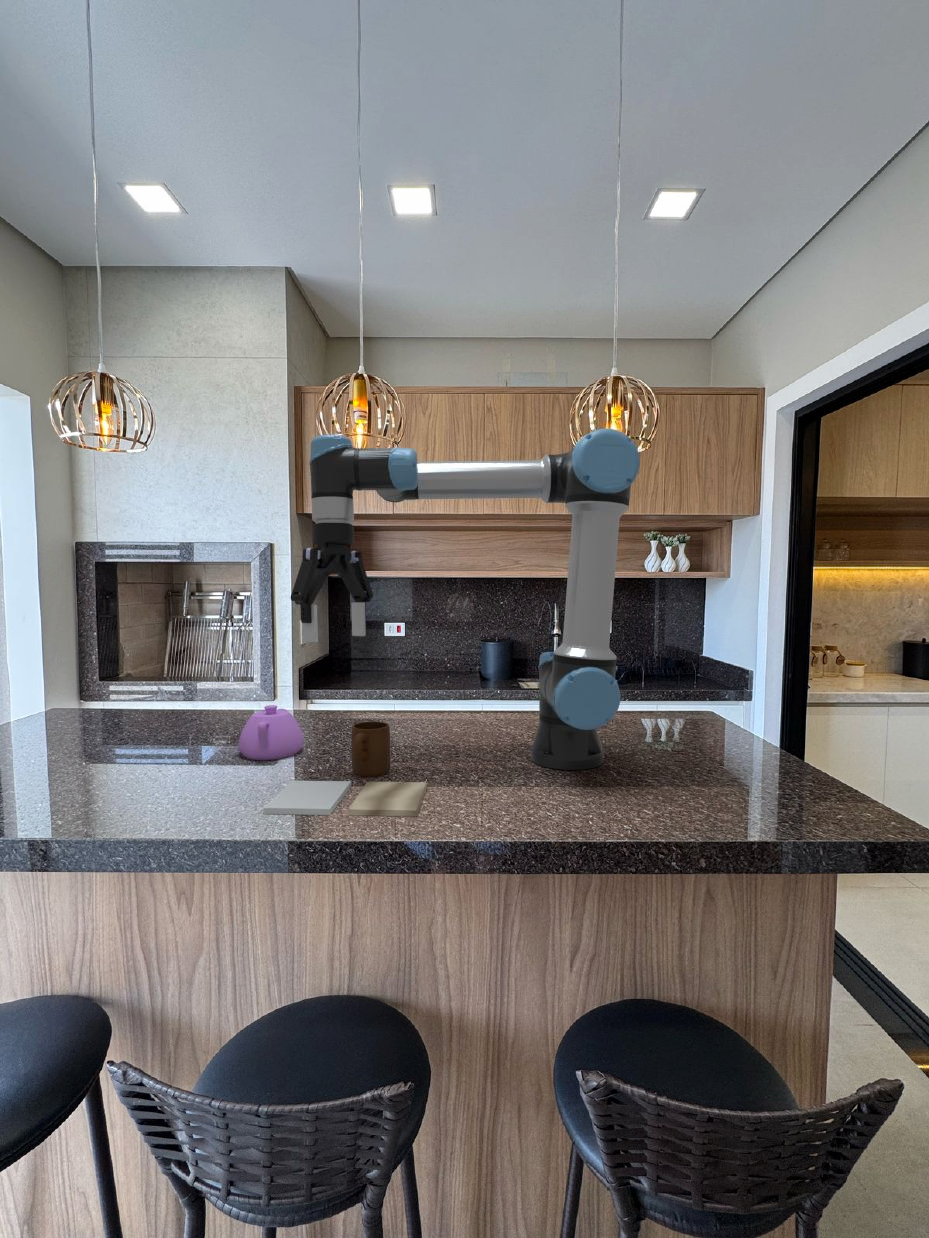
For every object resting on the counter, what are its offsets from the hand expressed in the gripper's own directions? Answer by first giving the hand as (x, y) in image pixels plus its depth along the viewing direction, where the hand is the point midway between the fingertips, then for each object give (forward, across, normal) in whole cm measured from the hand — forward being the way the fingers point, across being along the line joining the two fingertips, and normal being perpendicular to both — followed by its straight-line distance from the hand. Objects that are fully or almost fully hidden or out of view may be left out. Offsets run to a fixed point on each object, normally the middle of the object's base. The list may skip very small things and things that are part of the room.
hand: (336, 638), depth 113 cm
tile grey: (+27, +9, +1) cm, 29 cm away
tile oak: (+27, +3, +14) cm, 31 cm away
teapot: (+27, -11, -28) cm, 40 cm away
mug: (+28, -6, +2) cm, 28 cm away
